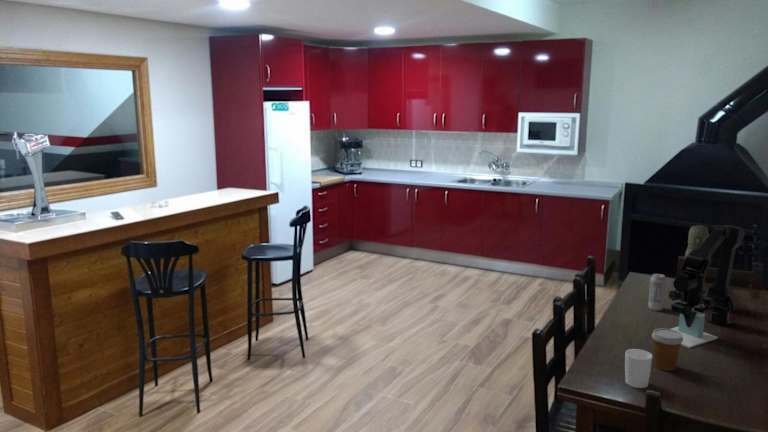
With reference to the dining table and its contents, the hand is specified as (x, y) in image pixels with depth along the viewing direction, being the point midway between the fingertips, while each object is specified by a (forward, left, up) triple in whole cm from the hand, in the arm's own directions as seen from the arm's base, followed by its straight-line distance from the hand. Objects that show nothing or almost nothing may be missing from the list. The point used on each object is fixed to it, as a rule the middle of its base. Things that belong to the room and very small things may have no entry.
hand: (691, 326), depth 219 cm
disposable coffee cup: (+32, +12, -4) cm, 34 cm away
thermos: (-33, -21, -4) cm, 39 cm away
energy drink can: (-14, -25, -4) cm, 29 cm away
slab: (0, 0, -3) cm, 3 cm away
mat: (+3, 0, -4) cm, 5 cm away
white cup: (+50, +15, -4) cm, 52 cm away
